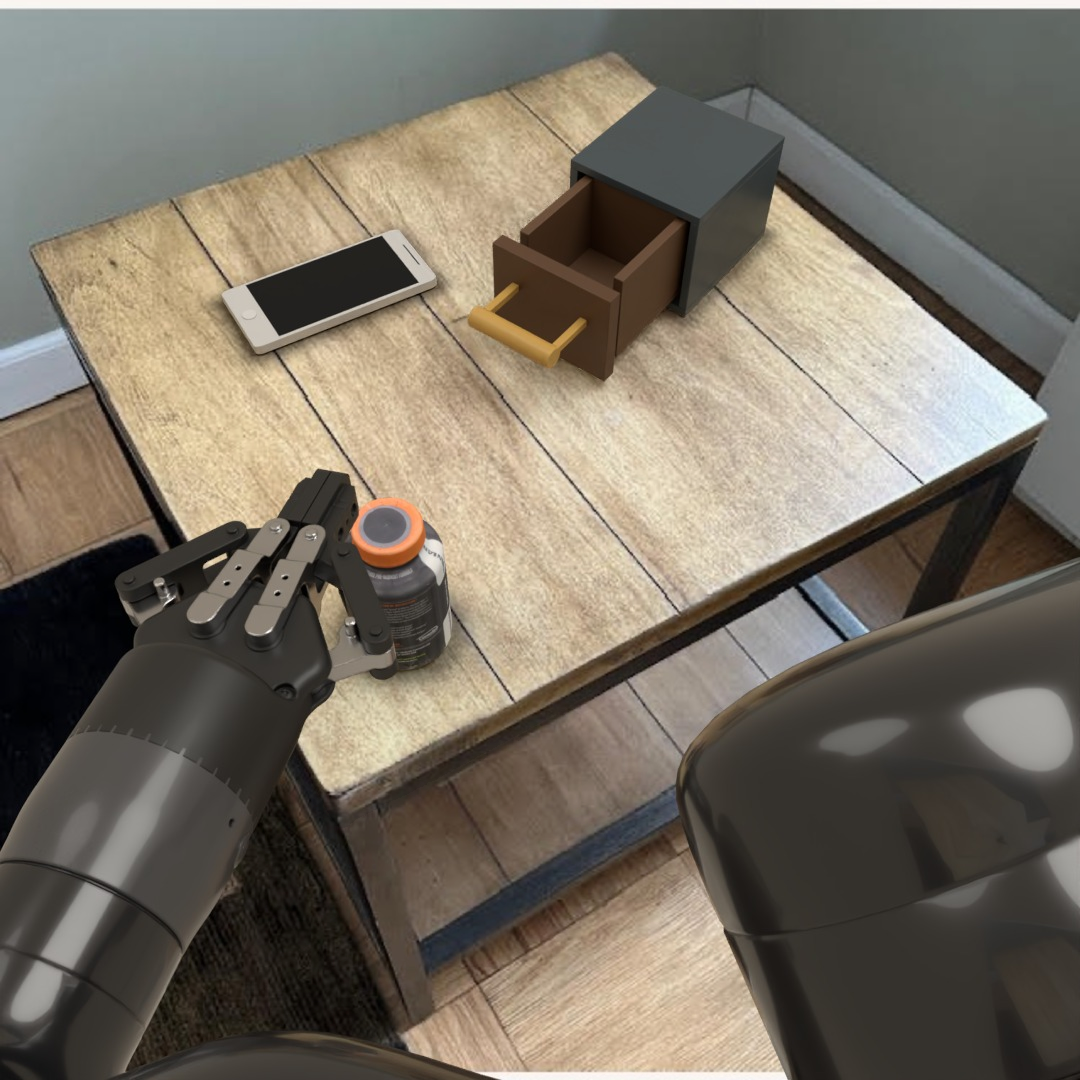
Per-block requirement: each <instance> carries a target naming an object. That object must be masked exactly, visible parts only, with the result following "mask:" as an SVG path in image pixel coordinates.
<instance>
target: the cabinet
mask: <svg viewBox="0 0 1080 1080" xmlns="http://www.w3.org/2000/svg"><path fill="white" fill-rule="evenodd" d="M785 140H786V136H785V135H783V134H780V133H777V132H776V131H773V130H770V129H768V128H766V127H763V126H760V125H758V124H756V123H753V122H751V121H748V120H746V119H744V118H741V117H738V116H737V115H734V114H733V113H730V112H727V111H725V110H722V109H720V108H717V107H715V106H712V105H710V104H709V103H708V104H707V103H705V102H704V101H701V100H698V99H695V98H693V97H691V96H688V95H686V94H683V93H682V92H678V91H676V90H674V89H671V88H670V87H667V86H664V85H662V84H660V85H658V87H657V88H656V89H654V90H653V91H652V92H650V93H649V94H648V95H647V96H645V97H644V99H642V100H641V101H639V102H638V103H637V104H636V105H635V106H633V107H632V108H631V109H630V110H629V111H627V112H626V113H625V114H623V116H621V117H620V118H619V119H617V121H615V122H614V123H613V124H611V126H610V127H608V128H606V130H605V131H603V132H602V133H601V134H600V135H598V136H597V137H596V138H595V139H594V140H593V141H591V142H590V143H589V144H588V145H587V146H585V147H584V148H583V149H581V150H580V151H579V152H578V153H577V154H576V155H574V156H573V157H572V158H571V159H570V168H569V189H570V188H571V187H572V186H573V185H574V184H576V183H577V182H578V181H579V180H580V179H582V178H583V177H584V176H585V175H586V174H587V175H589V176H591V177H593V178H595V179H598V180H600V181H602V182H604V183H606V184H608V185H611V186H613V187H615V188H617V189H619V190H621V191H624V192H626V193H628V194H630V195H632V196H635V197H637V198H639V199H641V200H643V201H645V202H648V203H650V204H652V205H654V206H656V207H658V208H661V209H663V210H665V211H667V212H669V213H672V214H674V215H676V216H678V217H680V218H682V219H685V220H687V221H689V222H691V226H690V233H689V239H688V246H687V253H686V260H685V266H684V273H683V280H682V287H681V293H680V294H679V295H678V296H677V297H676V298H675V299H674V300H673V301H672V302H671V303H670V304H669V305H668V306H667V307H666V308H665V309H668V310H669V311H671V312H674V313H675V314H678V315H680V316H681V317H684V318H685V317H686V316H687V315H688V314H689V313H690V312H691V311H692V310H693V309H694V308H695V307H696V306H697V305H698V304H699V303H700V302H701V301H702V300H703V299H704V298H705V297H706V296H707V295H708V293H710V292H711V290H712V289H714V288H715V286H716V285H717V284H718V283H719V282H720V281H721V280H722V279H723V278H724V277H725V276H726V275H727V274H728V273H729V272H730V271H731V270H732V269H733V268H734V267H735V266H736V265H737V264H738V263H739V262H740V261H741V260H742V259H743V258H744V257H745V256H746V254H747V253H748V252H749V251H751V249H752V248H753V247H754V246H755V245H756V244H757V243H758V242H759V241H760V240H761V239H762V238H763V237H764V235H765V233H766V227H767V224H768V218H769V213H770V209H771V204H772V199H773V195H774V191H775V186H776V181H777V178H778V177H777V176H778V172H779V167H780V162H781V158H782V153H783V147H784V144H785Z"/></svg>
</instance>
